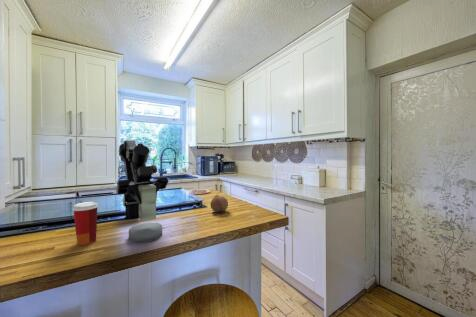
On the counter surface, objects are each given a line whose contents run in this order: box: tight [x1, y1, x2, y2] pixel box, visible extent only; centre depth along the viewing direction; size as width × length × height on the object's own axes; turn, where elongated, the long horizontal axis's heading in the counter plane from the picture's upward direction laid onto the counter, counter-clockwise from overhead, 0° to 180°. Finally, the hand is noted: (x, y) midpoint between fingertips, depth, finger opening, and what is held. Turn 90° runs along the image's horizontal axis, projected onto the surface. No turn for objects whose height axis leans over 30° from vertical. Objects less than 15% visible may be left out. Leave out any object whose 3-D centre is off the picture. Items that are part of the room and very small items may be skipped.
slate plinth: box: [128, 222, 163, 244], centre depth 82 cm, size 12×12×3 cm
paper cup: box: [71, 201, 99, 246], centre depth 76 cm, size 8×8×14 cm
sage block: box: [138, 184, 157, 223], centre depth 81 cm, size 5×5×13 cm
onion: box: [210, 194, 229, 214], centre depth 112 cm, size 10×9×10 cm
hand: (148, 202), depth 80 cm, fingers closed on sage block, 5 cm apart
